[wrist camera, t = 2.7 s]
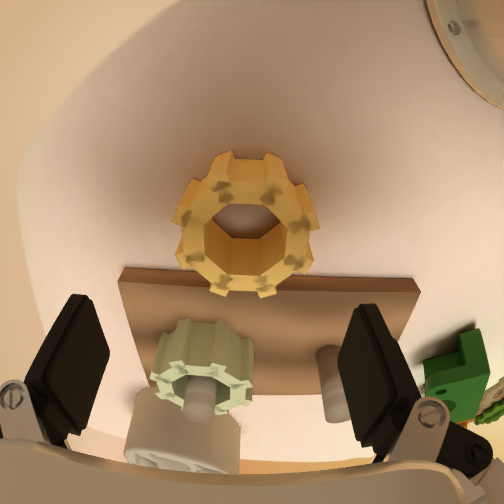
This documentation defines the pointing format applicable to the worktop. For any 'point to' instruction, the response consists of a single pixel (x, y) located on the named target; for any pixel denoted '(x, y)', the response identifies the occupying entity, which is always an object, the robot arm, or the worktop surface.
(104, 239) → the worktop surface
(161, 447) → the lumpy-topped squat cylinder
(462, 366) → the clamp
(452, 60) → the robot arm
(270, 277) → the mustard gear
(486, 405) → the gear puzzle
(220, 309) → the gear board
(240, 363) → the sage gear
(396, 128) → the worktop surface
